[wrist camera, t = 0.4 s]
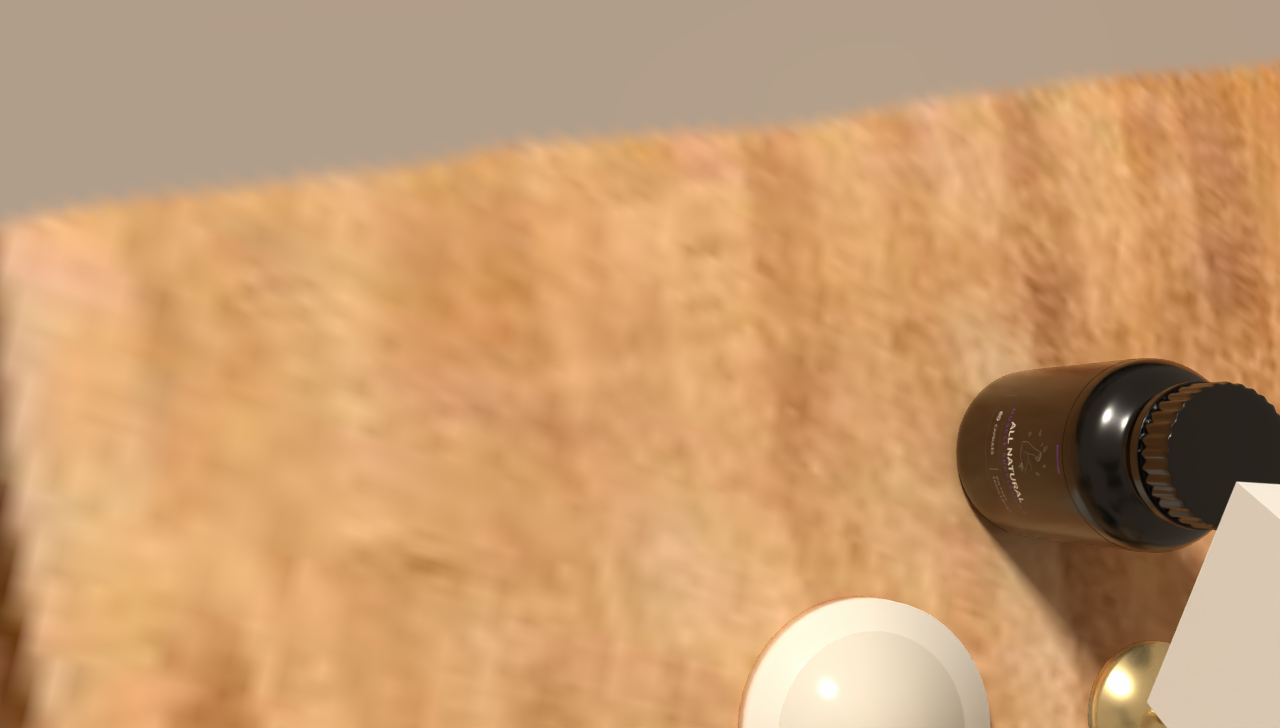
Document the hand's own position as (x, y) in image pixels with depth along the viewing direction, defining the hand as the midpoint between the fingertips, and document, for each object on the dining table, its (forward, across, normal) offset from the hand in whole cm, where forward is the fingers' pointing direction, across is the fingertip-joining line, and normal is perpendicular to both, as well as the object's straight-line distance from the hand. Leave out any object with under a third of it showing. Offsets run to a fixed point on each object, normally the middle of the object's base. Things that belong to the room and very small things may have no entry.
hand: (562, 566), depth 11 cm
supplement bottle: (+32, -24, +15) cm, 43 cm away
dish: (+26, -18, +24) cm, 40 cm away
